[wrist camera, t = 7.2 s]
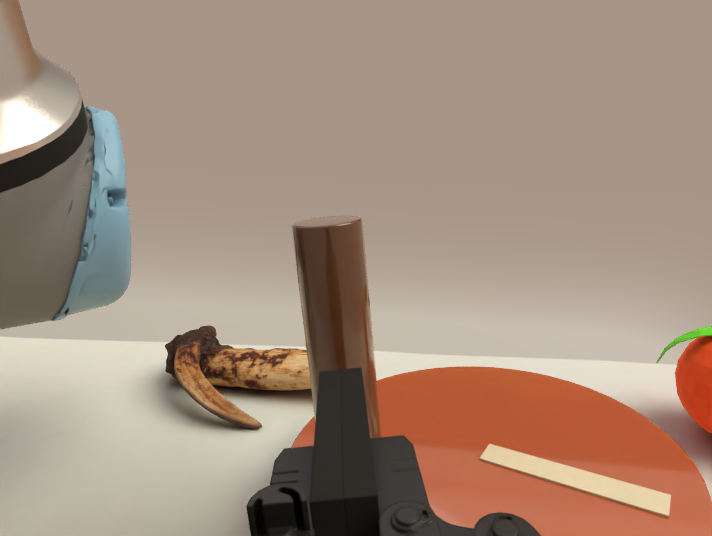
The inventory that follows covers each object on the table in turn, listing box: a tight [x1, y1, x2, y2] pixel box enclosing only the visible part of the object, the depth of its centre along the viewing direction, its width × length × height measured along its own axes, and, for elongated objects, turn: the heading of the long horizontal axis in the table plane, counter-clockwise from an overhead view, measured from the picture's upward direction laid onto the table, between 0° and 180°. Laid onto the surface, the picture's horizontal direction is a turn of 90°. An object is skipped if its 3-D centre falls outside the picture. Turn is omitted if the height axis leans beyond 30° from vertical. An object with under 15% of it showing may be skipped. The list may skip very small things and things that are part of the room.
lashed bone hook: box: [165, 326, 311, 429], centre depth 39 cm, size 9×5×18 cm
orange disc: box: [291, 216, 712, 536], centre depth 24 cm, size 20×20×14 cm
